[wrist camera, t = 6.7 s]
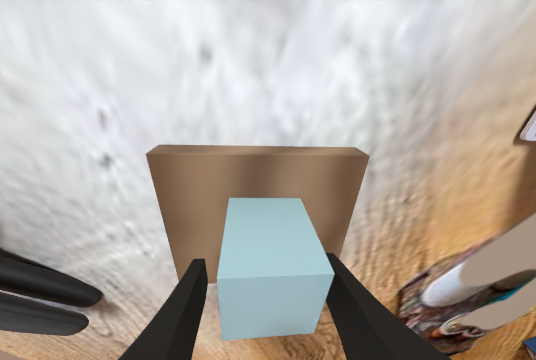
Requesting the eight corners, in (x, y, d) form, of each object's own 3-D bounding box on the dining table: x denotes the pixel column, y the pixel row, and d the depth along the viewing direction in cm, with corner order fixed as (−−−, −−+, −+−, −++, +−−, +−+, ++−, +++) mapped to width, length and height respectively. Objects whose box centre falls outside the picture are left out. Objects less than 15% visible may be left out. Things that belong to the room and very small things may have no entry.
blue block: (300, 198, 14) (334, 273, 8) (291, 248, 16) (314, 333, 10) (229, 197, 13) (216, 278, 8) (230, 250, 15) (221, 340, 10)
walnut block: (351, 145, 15) (369, 155, 13) (324, 254, 20) (333, 275, 18) (162, 142, 13) (145, 153, 11) (188, 261, 19) (179, 285, 16)
